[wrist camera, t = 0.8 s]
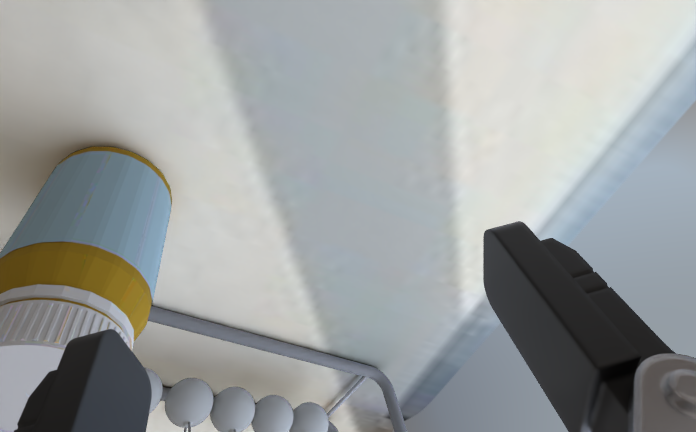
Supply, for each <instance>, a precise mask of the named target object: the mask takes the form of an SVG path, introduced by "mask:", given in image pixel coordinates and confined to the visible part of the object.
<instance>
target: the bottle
mask: <svg viewBox="0 0 696 432" xmlns="http://www.w3.org/2000/svg"><path fill="white" fill-rule="evenodd" d="M171 204H172V197H171V190H170V187H169V185H168V183H167V181H166V179H165V177H164V176H163V174H162V173H161V172H160V171H159V170H158V169H157V168H156V167H155V166H154V165H153V164H152V163H151V162H149V161H148V160H146V159H145V158H143V157H141V156H139V155H137V154H135V153H133V152H130V151H127V150H123V149H119V148H115V147H89V148H86V149H82V150H79V151H76V152H74V153H72V154H70V155H69V156H67V157H66V158H65V159H63V160H62V161H61V162H60V163H59V164H58V166H57V167H56V168H55V169H54V171H53V172H52V174H51V175H50V177H49V178H48V180H47V182H46V183H45V185H44V186H43V188H42V189H41V191H40V192H39V194H38V196H37V197H36V199H35V200H34V202H33V203H32V205H31V206H30V208H29V210H28V211H27V213H26V214H25V216H24V217H23V219H22V220H21V222H20V224H19V225H18V227H17V228H16V230H15V231H14V233H13V234H12V236H11V238H10V239H9V241H8V242H7V244H6V245H5V247H4V248H3V250H2V252H1V253H0V432H14V430H16V429H18V425H17V423H18V421H19V419H20V417H21V414H22V412H23V410H24V407H25V405H26V403H27V400H28V398H29V397H30V395H31V394H32V393H33V391H34V390H35V389H36V388H37V386H38V385H39V384H40V383H41V381H42V380H43V379H44V378H45V376H46V375H47V374H48V372H50V371H54V370H57V368H58V365H59V363H60V360H61V358H62V355H63V353H64V350H65V348H66V346H67V344H68V343H69V341H70V340H72V339H74V338H77V337H81V336H85V335H89V334H92V333H96V332H100V331H104V330H108V329H113V330H115V331H116V332H118V334H119V335H120V336H121V337H122V339H123V340H124V342H125V343H126V344H127V346H128V347H129V348H130V350H131V351H132V349H133V345H134V341H135V340H136V338H137V337H138V336H139V334H140V333H141V332H142V330H143V329H144V328H145V326H146V324H147V320H148V317H149V313H150V310H151V306H152V302H153V297H154V292H155V287H156V282H157V277H158V272H159V267H160V262H161V257H162V252H163V247H164V242H165V237H166V232H167V227H168V222H169V217H170V212H171Z"/></svg>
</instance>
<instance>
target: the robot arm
mask: <svg viewBox="0 0 696 432" xmlns="http://www.w3.org/2000/svg"><path fill="white" fill-rule="evenodd" d="M484 287H485V291H486V294H487V297H488V300H489V302H490V304H491V306H492V308H493V310H494V311H495V313H496V315H497V316H498V318H499V320H500V321H501V323H502V324H503V326H504V328H505V329H506V331H507V332H508V334H509V336H510V337H511V339H512V341H513V342H514V344H515V345H516V347H517V349H518V350H519V352H520V353H521V355H522V357H523V358H524V360H525V361H526V363H527V365H528V366H529V368H530V370H531V371H532V373H533V375H534V376H535V378H536V379H537V381H538V383H539V384H540V386H541V387H542V389H543V391H544V392H545V394H546V396H547V397H548V399H549V400H550V402H551V404H552V405H553V407H554V409H555V410H556V412H557V413H558V415H559V416H560V418H561V420H562V421H563V423H564V425H565V426H566V428H567V430H568V431H569V432H696V358H694V357H690V356H687V355H681V354H676V353H675V352H673V351H672V350H671V349H670V348H669V347H668V346H667V345H666V344H665V343H664V342H663V341H662V340H661V339H660V338H659V337H658V336H657V335H656V334H655V333H654V332H653V331H652V330H651V329H650V328H649V327H648V326H647V325H646V324H645V323H644V322H643V320H641V319H640V317H639V316H638V315H637V314H636V313H635V312H634V311H633V310H632V309H631V308H630V307H629V306H628V305H627V304H626V303H625V302H624V301H623V300H622V299H621V298H620V296H619V295H618V294H617V293H616V292H615V291H614V290H613V289H612V288H611V287H610V288H609V287H608V286H607V283H606V282H605V281H604V280H603V279H602V278H601V277H600V276H599V275H598V274H597V273H596V272H593V268H592V267H590V265H589V264H588V263H587V262H586V261H585V260H584V259H583V258H582V257H581V256H580V255H579V254H578V253H577V252H576V251H575V250H573V249H571V248H570V247H568V246H566V245H564V244H562V243H560V242H558V241H556V240H555V239H553V238H549V239H546V240H542V241H540V240H539V239H538V238H537V237H536V236H535V235H534V233H533V232H532V231H531V230H530V229H529V228H528V227H527V226H526V225H525V224H524V223H523V222H521V221H518V222H515V223H511V224H507V225H503V226H500V227H496V228H492V229H488V230H486V231H485V233H484ZM151 398H152V389H151V383H150V379H149V376H148V374H147V372H146V370H145V369H144V367H143V366H142V365H141V363H140V362H139V360H138V359H137V358H136V356H135V355H134V354H133V352H132V351H131V350H130V348H129V347H128V346H127V344H126V343H125V342H124V340H123V339H122V337H121V336H120V335H119V334H118V332H116V331H115V330H113V329H108V330H104V331H100V332H96V333H92V334H89V335H85V336H81V337H77V338H74V339H72V340H70V341H69V343H68V344H67V346H66V348H65V350H64V353H63V355H62V358H61V360H60V363H59V365H58V368H57V370H54V371H50V372H48V374H47V375H46V376H45V378H44V379H43V380H42V381H41V383H40V384H39V385H38V386H37V388H36V389H35V390H34V391H33V393H32V394H31V395H30V397H29V398H28V400H27V403H26V405H25V407H24V410H23V412H22V414H21V417H20V419H19V421H18V423H17V425H18V429H16V430H14V432H146V426H147V421H148V416H149V410H150V405H151Z"/></svg>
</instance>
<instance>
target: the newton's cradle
mask: <svg viewBox="0 0 696 432" xmlns="http://www.w3.org/2000/svg"><path fill="white" fill-rule="evenodd" d="M147 321H151V322H155V323H159V324H163V325H167V326H171V327H175V328H178V329H182V330H186V331H190V332H194V333H198V334H202V335H206V336H209V337H213V338H217V339H221V340H225V341H229V342H233V343H237V344H240V345H244V346H248V347H252V348H256V349H260V350H264V351H267V352H271V353H275V354H279V355H283V356H287V357H291V358H295V359H298V360H302V361H306V362H310V363H314V364H318V365H322V366H326V367H329V368H333V369H337V370H341V371H345V372H349V373H353V374H357V375H360V376H363V377H362V378H361V379H360V380H359V381H358V382H357V383H356V384H355V385H354V386H353V387H352V388H351V389H350V390H349V391H348V392H347V393H346V395H345V396H344V397H343V398H342V399H341V400H340V401H339V402H338V403H337V404H336V405H335V406H334V407H333V408H332V409H331V410H330V411H329V412H328V413H327V414H326V412H325V410H324V409H323V408H322V407H321V406H319V405H318V404H315V403H311V402H307V403H303V404H301V405H299V406H298V407H296V408H295V409H294V411H293V410H292V407H291V405H290V403H289V402H288V401H287V400H286V399H285V398H283V397H281V396H278V395H269V396H266V397H264V398H262V399H261V400H260V401H259V402H258V403H257V404H256V405H255V402H254V400H253V397H252V396H251V394H250V393H249V392H248V391H246V390H245V389H243V388H240V387H229V388H227V389H224V390H223V391H221V392H220V393H219V394H218V395H217V396H216V397H213V393H212V390H211V388H210V387H209V385H208V384H207V383H206V382H204V381H203V380H201V379H197V378H187V379H184V380H181V381H179V382H178V383H176V384H175V385H174V386H173V387H172V388H166V387H163V386H162V382H161V379H160V378H159V376H158V375H157V374H156V373H155V372H154V371H153V370H151V369H148V368H144V369H145V370H146V372H147V374H148V376H149V379H150V383H151V389H152V398H151V405H150V410H149V413H150V412H152V411H153V410H154V409H155V408H156V406H157V405H158V404H159V402H160V400H161V401H165V411H166V415H167V416H168V418H169V420H170V421H171V422H172V423H173V424H175V425H177V426H179V427H184V432H186V429H187V428H188V432H191V427H193V426H196V425H198V424H200V423H201V422H203V421H204V420H205V419H206V418H207V417H208V415H209V413H210V417H211V421H212V423H213V425H214V427H215V428H216V429H217V430H218V431H220V432H242V431H243V430H245V429H246V428H247V427H248V426H249V425H250V423H252V427H253V429H254V431H255V432H288V431H289V432H338V430H337V428H336V427H335V426H334V425H333V424H332V423H331V422H330V421H328V417H329V416H330V415H331V414H332V413H333V412H334V411H335V410H336V409H337V408H338V407H339V406H340V405H341V404H342V403H343V402H344V401H345V400H346V399H347V398H348V397H349V396H350V395H351V394H352V393H353V392H354V391H355V390H356V389H357V388H358V387H359V386H360V385H361V384H362V383H363V382H364V381H365V380H366V379H367V378H371V379H373V380H374V381H376V382H377V383H378V385H379V386H380V387H381V389H382V391H383V394H384V397H385V401H386V404H387V408H388V411H389V414H390V418H391V421H392V425H393V428H394V431H395V432H407V430H406V426H405V423H404V420H403V417H402V413H401V410H400V407H399V404H398V401H397V398H396V395H395V391H394V388H393V386H392V384H391V382H390V381H389V379H388V378H387V377H386V376H385V375H384V373H383V372H381V371H380V370H378V369H377V368H374V367H372V366H369V365H365V364H361V363H358V362H354V361H350V360H347V359H343V358H339V357H336V356H332V355H328V354H325V353H321V352H318V351H314V350H310V349H307V348H303V347H299V346H296V345H292V344H288V343H285V342H281V341H277V340H274V339H270V338H267V337H263V336H259V335H256V334H252V333H248V332H245V331H241V330H237V329H234V328H230V327H226V326H223V325H219V324H216V323H212V322H208V321H205V320H201V319H197V318H194V317H190V316H186V315H183V314H179V313H175V312H172V311H168V310H164V309H161V308H157V307H154V306H151V310H150V313H149V317H148V320H147Z"/></svg>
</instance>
